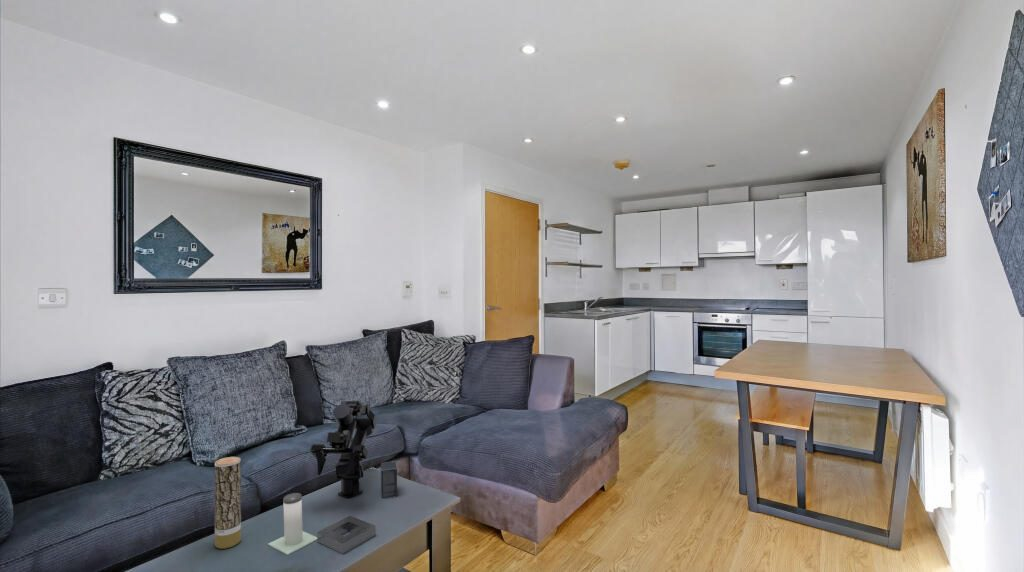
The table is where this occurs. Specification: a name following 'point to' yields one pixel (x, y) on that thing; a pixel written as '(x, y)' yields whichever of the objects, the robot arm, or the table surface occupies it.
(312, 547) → the table surface
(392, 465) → the box
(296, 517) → the plug
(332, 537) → the frame
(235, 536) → the bark textured cylinder
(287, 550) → the mat
